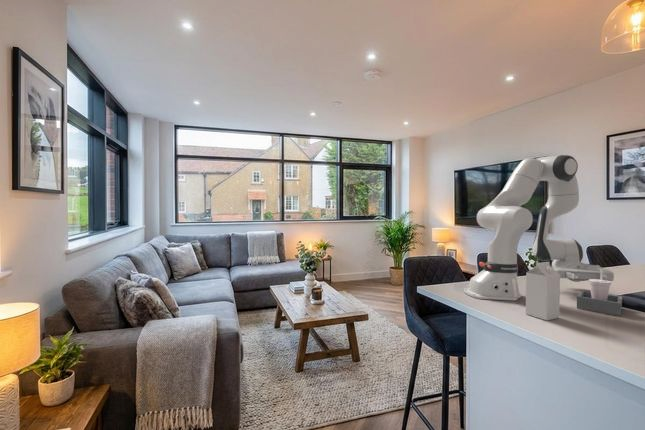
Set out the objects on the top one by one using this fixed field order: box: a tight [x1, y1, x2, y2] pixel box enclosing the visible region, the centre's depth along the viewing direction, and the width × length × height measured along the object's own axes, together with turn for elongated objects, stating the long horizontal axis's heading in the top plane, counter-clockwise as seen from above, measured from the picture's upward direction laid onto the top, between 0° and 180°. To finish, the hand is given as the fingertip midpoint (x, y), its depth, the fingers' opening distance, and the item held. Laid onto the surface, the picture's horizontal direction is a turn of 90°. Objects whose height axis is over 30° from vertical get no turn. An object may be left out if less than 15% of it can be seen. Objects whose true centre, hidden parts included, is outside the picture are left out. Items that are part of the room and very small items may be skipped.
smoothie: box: [588, 269, 612, 301], centre depth 116 cm, size 6×6×14 cm
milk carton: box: [525, 261, 561, 321], centre depth 107 cm, size 7×7×19 cm
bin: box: [576, 290, 623, 317], centre depth 116 cm, size 12×12×4 cm
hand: (590, 277), depth 123 cm, fingers open, 8 cm apart
